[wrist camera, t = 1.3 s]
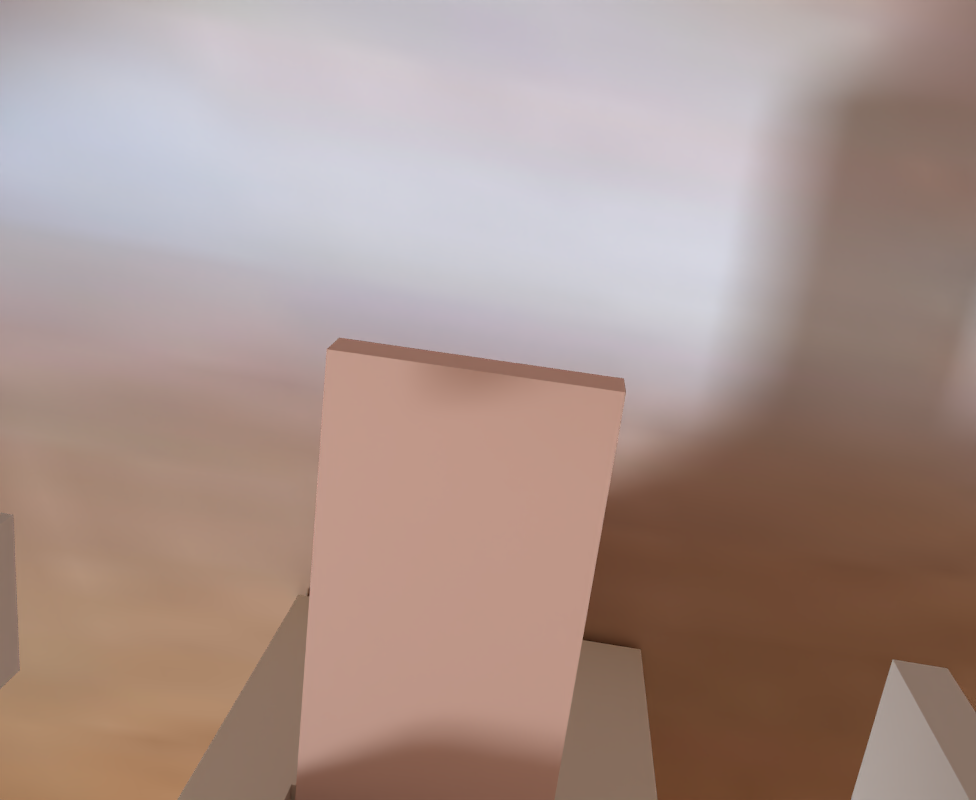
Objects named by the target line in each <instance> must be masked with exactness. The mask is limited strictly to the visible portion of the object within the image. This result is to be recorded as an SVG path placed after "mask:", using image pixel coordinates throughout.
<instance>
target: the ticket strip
mask: <svg viewBox="0 0 976 800" xmlns="http://www.w3.org/2000/svg"><path fill="white" fill-rule="evenodd" d="M625 395H626V389H625V383H624V379H623V378H616V377H609V376H602V375H595V374H588V373H581V372H574V371H567V370H560V369H553V368H547V367H540V366H533V365H526V364H519V363H512V362H505V361H498V360H491V359H484V358H477V357H470V356H463V355H456V354H449V353H442V352H435V351H428V350H421V349H414V348H407V347H400V346H393V345H386V344H379V343H372V342H366V341H359V340H352V339H345V338H339V339H337V340H336V341H335V342H334V343H333V344H332V345H331V346H330V347H329V348H328V349H327V354H326V368H325V382H324V397H323V411H322V425H321V439H320V453H319V467H318V482H317V496H316V510H315V524H314V538H313V553H312V567H311V581H310V595H309V609H308V623H307V638H306V652H305V666H304V680H303V694H302V708H301V723H300V737H299V751H298V765H297V779H296V793H295V800H554V799H555V793H556V788H557V782H558V776H559V771H560V765H561V759H562V754H563V748H564V742H565V736H566V731H567V725H568V719H569V714H570V708H571V702H572V697H573V691H574V685H575V680H576V674H577V668H578V663H579V657H580V651H581V645H582V640H583V634H584V628H585V623H586V617H587V611H588V606H589V600H590V594H591V589H592V583H593V577H594V572H595V566H596V560H597V554H598V549H599V543H600V537H601V532H602V526H603V520H604V515H605V509H606V503H607V498H608V492H609V486H610V480H611V475H612V469H613V463H614V458H615V452H616V446H617V441H618V435H619V429H620V424H621V418H622V412H623V407H624V401H625Z"/></svg>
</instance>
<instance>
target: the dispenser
mask: <svg viewBox="0 0 976 800" xmlns="http://www.w3.org/2000/svg"><path fill="white" fill-rule="evenodd" d="M308 609H309V596H304V595H298V596H297V598H296V600H295V601H294V603H293V605H292V606H291V608H290V610H289V612H288V613H287V615H286V617H285V618H284V620H283V622H282V623H281V625H280V627H279V628H278V630H277V632H276V634H275V635H274V637H273V639H272V640H271V642H270V644H269V645H268V647H267V649H266V651H265V652H264V654H263V656H262V657H261V659H260V661H259V662H258V664H257V666H256V667H255V669H254V671H253V673H252V674H251V676H250V678H249V679H248V681H247V683H246V684H245V686H244V688H243V690H242V691H241V693H240V695H239V696H238V698H237V700H236V701H235V703H234V705H233V706H232V708H231V710H230V712H229V713H228V715H227V717H226V718H225V720H224V722H223V723H222V725H221V727H220V729H219V730H218V732H217V734H216V735H215V737H214V739H213V740H212V742H211V744H210V745H209V747H208V749H207V751H206V752H205V754H204V756H203V757H202V759H201V761H200V762H199V764H198V766H197V768H196V769H195V771H194V773H193V774H192V776H191V778H190V779H189V781H188V783H187V784H186V786H185V788H184V790H183V791H182V793H181V795H180V796H179V798H178V800H295V793H296V779H297V765H298V751H299V737H300V723H301V708H302V694H303V680H304V666H305V652H306V638H307V623H308ZM554 800H657V791H656V782H655V773H654V764H653V755H652V746H651V737H650V728H649V719H648V710H647V701H646V692H645V683H644V674H643V665H642V656H641V649H635V648H629V647H623V646H616V645H610V644H604V643H598V642H591V641H585V640H582V645H581V651H580V657H579V663H578V668H577V674H576V680H575V685H574V691H573V697H572V702H571V708H570V714H569V719H568V725H567V731H566V736H565V742H564V748H563V754H562V759H561V765H560V771H559V776H558V782H557V788H556V793H555V799H554Z"/></svg>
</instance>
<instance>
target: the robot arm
mask: <svg viewBox="0 0 976 800" xmlns="http://www.w3.org/2000/svg"><path fill="white" fill-rule="evenodd" d="M19 670H20V665H19V640H18V616H17V591H16V567H15V542H14V518H13V515H11V514H5V513H0V689H1V688H2V687H3V686H4V685H5V684H6V683H7V682H8V681H9V680H10V679H11V678H12V677H13V676H14V675H15V674H16V673H17V672H18V671H19ZM851 800H976V712H975V710H974V709H973V707H972V706H971V704H970V703H969V701H968V700H967V698H966V696H965V695H964V693H963V692H962V690H961V689H960V687H959V685H958V684H957V682H956V681H955V679H954V678H953V676H952V674H951V673H950V671H949V670H948V668H942V667H936V666H930V665H924V664H918V663H912V662H906V661H900V660H894V659H893V660H892V663H891V666H890V670H889V673H888V677H887V680H886V683H885V687H884V690H883V693H882V697H881V700H880V703H879V707H878V710H877V714H876V717H875V720H874V724H873V727H872V730H871V734H870V737H869V740H868V744H867V747H866V751H865V754H864V757H863V761H862V764H861V767H860V771H859V774H858V777H857V781H856V784H855V788H854V791H853V794H852V798H851Z"/></svg>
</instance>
